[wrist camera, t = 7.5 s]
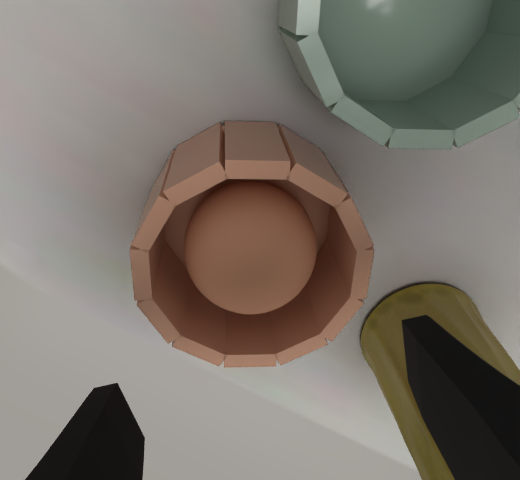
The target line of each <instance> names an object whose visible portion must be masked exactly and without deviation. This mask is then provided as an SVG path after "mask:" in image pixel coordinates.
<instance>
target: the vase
mask: <svg viewBox="0 0 520 480" xmlns="http://www.w3.org/2000/svg"><path fill="white" fill-rule="evenodd" d="M422 315H428V316H429V317H431V318H432V319H433V320H434V321H436V322H437V323H438V324H439V325H440V326H442V327H443V328H444V329H445V330H446V331H448V332H449V333H450V334H451V335H452V336H454V337H455V338H456V339H457V340H459V341H460V342H461V343H462V344H464V345H465V346H466V347H467V348H469V349H470V350H471V351H473V352H474V353H475V354H477V355H478V356H479V357H481V358H482V359H483V360H485V361H486V362H487V363H489V364H490V365H491V366H493V367H494V368H496V369H497V370H498V371H500V372H501V373H502V374H504V375H505V376H507V377H508V378H510V379H511V380H512V381H514V382H515V383H517V384H518V385H520V370H519V369H518V367H517V366H516V364H515V363H514V362H513V360H512V359H511V357H510V356H509V355H508V353H507V352H506V351H505V349H504V348H503V346H502V345H501V344H500V342H499V341H498V340H497V339H496V337H495V336H494V335H493V333H492V332H491V331H490V329H489V328H488V326H487V325H486V323H485V322H484V320H483V319H482V317H481V315H480V313H479V311H478V308H477V306H476V305H475V304H474V302H473V301H472V300H471V299H470V298H469V297H468V296H467V295H466V294H465V293H463V292H462V291H460V290H458V289H456V288H454V287H451V286H447V285H442V284H420V285H415V286H411V287H408V288H405V289H403V290H400V291H398V292H396V293H394V294H392V295H390V296H389V297H388V298H386V299H385V300H384V301H382V302H381V303H380V304H379V305H378V306H377V307H376V308H375V309H374V310H373V312H372V313H371V314H370V315H369V317H368V318H367V320H366V322H365V324H364V327H363V330H362V334H361V340H360V341H361V349H362V353H363V355H364V358H365V360H366V361H367V363H368V365H369V366H370V368H371V369H372V371H373V372H374V374H375V376H376V378H377V381H378V383H379V385H380V388H381V390H382V392H383V394H384V397H385V399H386V401H387V403H388V405H389V407H390V409H391V412H392V414H393V416H394V418H395V420H396V422H397V424H398V427H399V429H400V432H401V434H402V436H403V439H404V441H405V443H406V445H407V447H408V450H409V452H410V454H411V456H412V458H413V460H414V462H415V464H416V467H417V469H418V471H419V474H420V476H421V479H422V480H455V479H454V477H453V475H452V473H451V471H450V470H449V468H448V466H447V464H446V462H445V460H444V458H443V456H442V455H441V453H440V451H439V449H438V447H437V445H436V443H435V441H434V440H433V438H432V436H431V434H430V432H429V430H428V428H427V426H426V424H425V422H424V420H423V418H422V416H421V413H420V411H419V408H418V406H417V403H416V401H415V398H414V396H413V393H412V390H411V388H410V385H409V383H408V377H407V368H406V358H405V349H404V339H403V330H402V321H401V320H404V319H409V318H413V317H418V316H422Z"/></svg>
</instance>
